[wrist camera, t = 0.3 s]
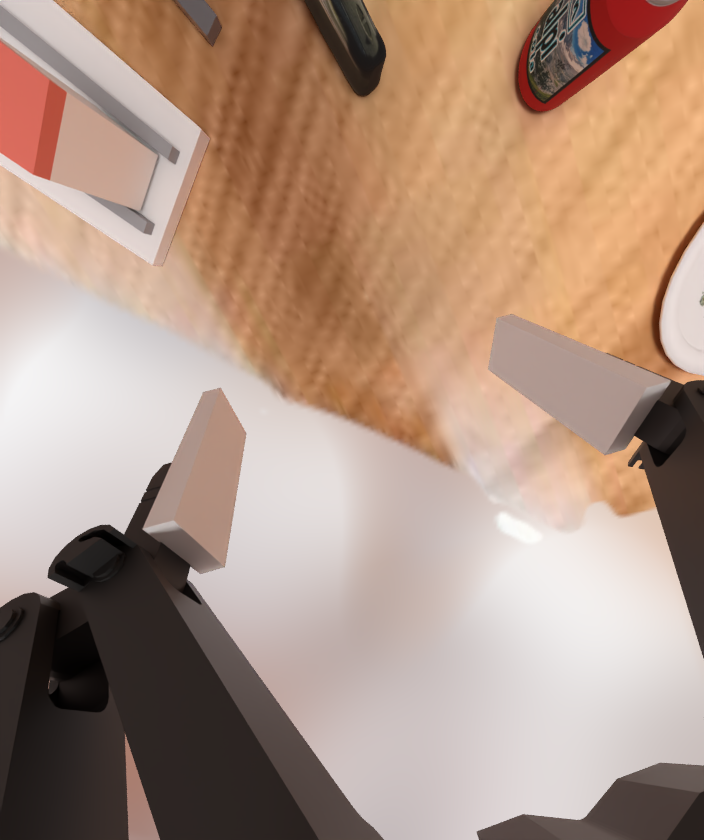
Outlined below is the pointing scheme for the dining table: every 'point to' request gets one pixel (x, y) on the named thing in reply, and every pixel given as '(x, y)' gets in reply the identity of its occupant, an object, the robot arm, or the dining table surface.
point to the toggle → (67, 135)
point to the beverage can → (584, 44)
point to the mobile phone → (351, 40)
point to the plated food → (685, 309)
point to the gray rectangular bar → (201, 18)
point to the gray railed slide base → (129, 107)
